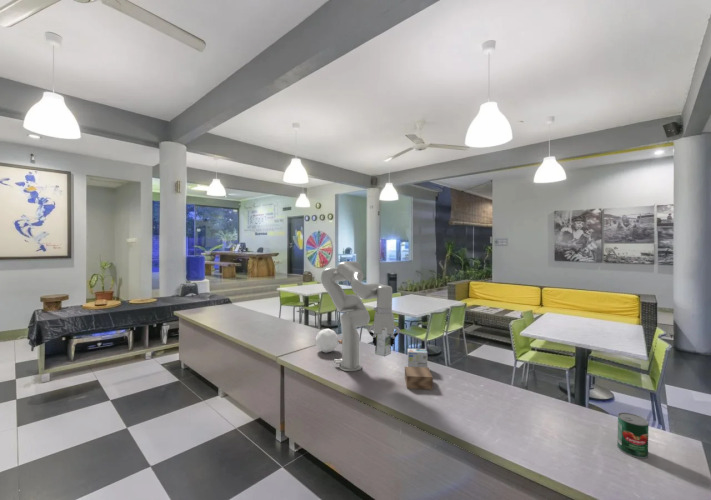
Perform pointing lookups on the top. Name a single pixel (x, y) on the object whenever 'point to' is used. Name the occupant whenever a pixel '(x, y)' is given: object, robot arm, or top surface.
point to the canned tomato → (633, 435)
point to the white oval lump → (327, 340)
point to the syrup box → (383, 343)
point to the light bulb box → (417, 358)
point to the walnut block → (418, 378)
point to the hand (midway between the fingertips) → (383, 345)
